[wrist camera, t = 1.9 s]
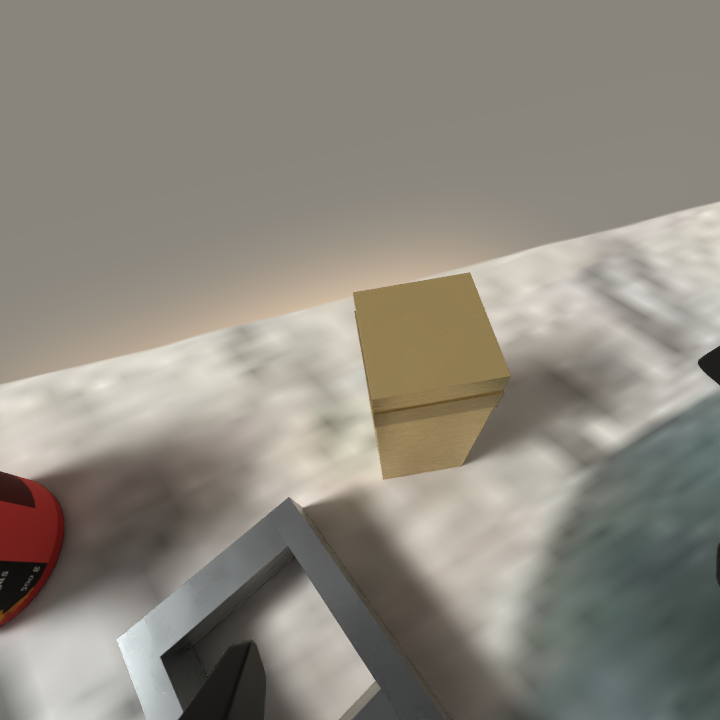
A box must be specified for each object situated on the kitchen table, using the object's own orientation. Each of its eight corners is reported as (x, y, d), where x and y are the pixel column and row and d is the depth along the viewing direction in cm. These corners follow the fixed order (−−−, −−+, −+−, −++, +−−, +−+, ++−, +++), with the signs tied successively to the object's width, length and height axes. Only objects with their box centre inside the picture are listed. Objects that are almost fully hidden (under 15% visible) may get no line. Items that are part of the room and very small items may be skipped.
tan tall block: (462, 466, 22) (513, 376, 12) (382, 480, 22) (370, 401, 12) (441, 393, 24) (470, 271, 15) (369, 406, 24) (351, 291, 15)
